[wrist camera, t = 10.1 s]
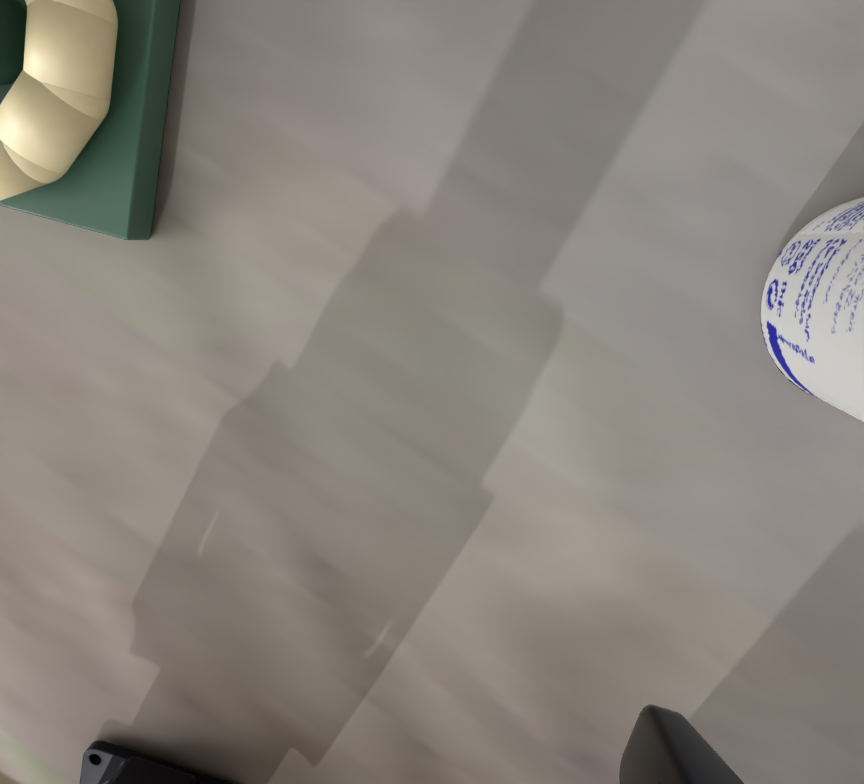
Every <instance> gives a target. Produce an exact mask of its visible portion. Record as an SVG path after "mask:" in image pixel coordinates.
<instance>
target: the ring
mask: <svg viewBox="0 0 864 784" xmlns="http://www.w3.org/2000/svg"><path fill="white" fill-rule="evenodd" d="M25 2H26V4H27V20H26V35H25V50H24V65H23V70H22V72H21V73H20V75H19V76H18V78H17V79H16V81H15V83H14V84H13V86H12V87H11V89H10V90H9V92H8V93H7V95H6V96H5V98H4V100H3V101H2V103H1V104H0V201H1V200H3V199H6V198H9V197H12V196H15V195H18V194H20V193H23V192H26V191H29V190H32V189H34V188H37V187H40V186H43V185H46V184H49V183H51V182H54V181H56V180H58V179H59V178H61V177H62V176H63V175H64V174H65V173H66V172H67V171H68V169H69V168H70V166H71V165H72V163H73V162H74V161H75V159H76V158H77V156H78V155H79V154H80V152H81V151H82V149H83V148H84V146H85V145H86V144H87V142H88V141H89V139H90V138H91V137H92V135H93V134H94V132H95V131H96V129H97V128H98V127H99V125H100V124H101V122H102V121H103V119H104V118H105V117H106V114H107V113H108V110H109V106H110V99H111V89H112V79H113V70H114V60H115V50H116V40H117V31H118V17H117V12H116V8H115V5H114V2H113V0H25Z"/></svg>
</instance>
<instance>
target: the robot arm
mask: <svg viewBox="0 0 864 784" xmlns="http://www.w3.org/2000/svg"><path fill="white" fill-rule="evenodd" d="M619 779H620V784H744V783H743V782H742V781H741V780H740V778H739V777H738V776H737V775H736V774H735V773H734V772H733V771H732V770H731V768H730V767H729V766H728V765H727V764H726V763H725V762H724V761H723V760H722V759H721V757H720V756H719V755H718V754H717V753H716V752H715V751H714V750H713V749H712V747H711V746H710V745H709V744H708V743H707V742H706V741H705V740H704V739H703V738H702V736H701V735H700V734H699V733H698V732H697V731H696V730H695V729H694V728H693V727H692V725H691V724H690V723H689V722H688V721H687V720H686V719H685V718H684V717H683V716H682V715H681V714H679V713H678V712H675V711H671V710H668V709H665V708H662V707H658V706H655V705H651V704H650V705H647V706H645V707H644V708H643V709H642V711H641V712H640V714H639V717H638V719H637V722H636V724H635V726H634V729H633V731H632V734H631V736H630V739H629V741H628V743H627V746H626V748H625V751H624V753H623V756H622V760H621V765H620V774H619ZM80 784H232V783H229V782H226V781H223V780H220V779H217V778H214V777H211V776H208V775H205V774H202V773H199V772H196V771H193V770H190V769H187V768H183V767H180V766H177V765H174V764H171V763H168V762H165V761H162V760H159V759H156V758H153V757H150V756H147V755H144V754H141V753H138V752H135V751H132V750H129V749H126V748H123V747H120V746H117V745H114V744H110V743H107V742H104V741H99V740H98V741H94V742H93V743H92V744H91V745H90V746H89V747H88V749H87V750H86V751H85V752H84V755H83V762H82V770H81V778H80Z"/></svg>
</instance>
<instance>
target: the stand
mask: <svg viewBox="0 0 864 784" xmlns="http://www.w3.org/2000/svg"><path fill="white" fill-rule="evenodd" d="M113 2H114V5H115V8H116V12H117V17H118V31H117V40H116V50H115V60H114V70H113V79H112V89H111V99H110V106H109V110H108V113H107V114H106V117H105V118H104V119H103V121H102V122H101V124H100V125H99V127H98V128H97V129H96V131H95V132H94V134H93V135H92V137H91V138H90V139H89V141H88V142H87V144H86V145H85V146H84V148H83V149H82V151H81V152H80V154H79V155H78V156H77V158H76V159H75V161H74V162H73V163H72V165H71V166H70V168H69V169H68V171H67V172H66V173H65V174H64V175H63V176H62V177H61V178H59V179H58V180H56V181H54V182H51V183H49V184H46V185H43V186H40V187H37V188H34V189H32V190H29V191H26V192H23V193H20V194H18V195H15V196H12V197H9V198H6V199H3V200H1V201H0V206H4V207H8V208H11V209H15V210H19V211H22V212H26V213H30V214H33V215H37V216H41V217H44V218H48V219H52V220H55V221H59V222H63V223H67V224H70V225H74V226H78V227H81V228H85V229H89V230H92V231H96V232H100V233H103V234H107V235H111V236H114V237H118V238H122V239H125V240H149V239H150V235H151V227H152V219H153V211H154V203H155V195H156V187H157V179H158V171H159V163H160V155H161V147H162V139H163V131H164V124H165V116H166V108H167V100H168V92H169V84H170V76H171V68H172V60H173V52H174V44H175V36H176V28H177V20H178V12H179V4H180V0H113ZM26 20H27V4H26V2H25V0H0V104H1V103H2V101H3V100H4V98H5V96H6V95H7V93H8V92H9V90H10V89H11V87H12V86H13V84H14V83H15V81H16V79H17V78H18V76H19V75H20V73H21V72H22V70H23V65H24V50H25V35H26Z"/></svg>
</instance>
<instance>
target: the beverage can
mask: <svg viewBox="0 0 864 784" xmlns="http://www.w3.org/2000/svg"><path fill="white" fill-rule="evenodd" d="M761 328H762V332H763V337H764V341H765V344H766V347H767V349H768V352H769V354H770V356H771V358H772V360H773V361H774V363H775V364H776V366H777V367H778V368H779V370H780V371H781V372H782V373H783V374H784V375H785V376H786V377H787V378H788V379H789V380H790V381H791V382H792V383H793V384H795V385H796V386H797V387H799V388H800V389H801V390H803V391H805V392H807V393H809V394H811V395H813V396H815V397H817V398H819V399H821V400H823V401H825V402H827V403H829V404H831V405H833V406H834V407H836V408H838V409H840V410H842V411H844V412H846V413H848V414H850V415H852V416H853V417H855V418H857V419H859V420H861V421H863V422H864V197H862V198H858V199H854V200H851V201H848V202H846V203H843V204H840V205H838V206H836V207H834V208H832V209H830V210H828V211H826V212H824V213H823V214H821V215H819V216H818V217H816V218H815V219H814V220H812V221H811V222H810V223H808V224H807V225H806V226H804V227H803V228H802V229H801V230H800V231H799V232H798V233H797V234H796V235H795V236H794V237H793V238H792V239H791V240H790V241H789V243H788V244H787V245H786V246H785V247H784V249H783V250H782V252H781V253H780V255H779V256H778V258H777V259H776V261H775V263H774V265H773V267H772V269H771V271H770V273H769V275H768V278H767V281H766V284H765V287H764V291H763V295H762V303H761Z"/></svg>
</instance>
